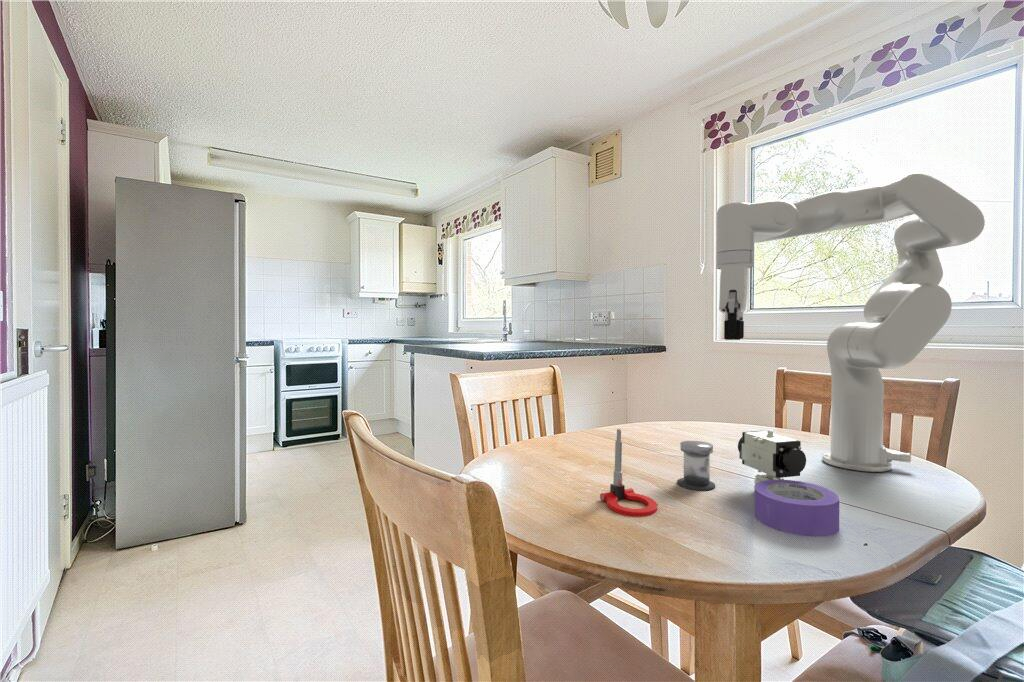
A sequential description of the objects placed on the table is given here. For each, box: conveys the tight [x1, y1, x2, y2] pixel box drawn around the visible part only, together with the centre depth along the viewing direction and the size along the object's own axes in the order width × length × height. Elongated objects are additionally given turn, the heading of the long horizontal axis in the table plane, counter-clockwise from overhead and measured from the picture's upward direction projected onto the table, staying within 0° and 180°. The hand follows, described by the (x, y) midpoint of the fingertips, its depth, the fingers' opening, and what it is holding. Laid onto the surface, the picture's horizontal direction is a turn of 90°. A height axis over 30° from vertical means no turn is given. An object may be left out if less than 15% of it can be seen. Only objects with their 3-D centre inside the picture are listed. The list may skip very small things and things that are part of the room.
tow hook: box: [599, 428, 658, 517], centre depth 83 cm, size 8×13×9 cm
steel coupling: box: [679, 440, 714, 487], centre depth 95 cm, size 6×6×8 cm
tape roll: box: [753, 479, 840, 538], centre depth 77 cm, size 12×12×5 cm
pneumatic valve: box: [737, 429, 807, 485], centre depth 88 cm, size 6×12×12 cm, turn 15°
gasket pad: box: [676, 477, 716, 492], centre depth 95 cm, size 7×7×1 cm
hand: (734, 339), depth 106 cm, fingers open, 9 cm apart
